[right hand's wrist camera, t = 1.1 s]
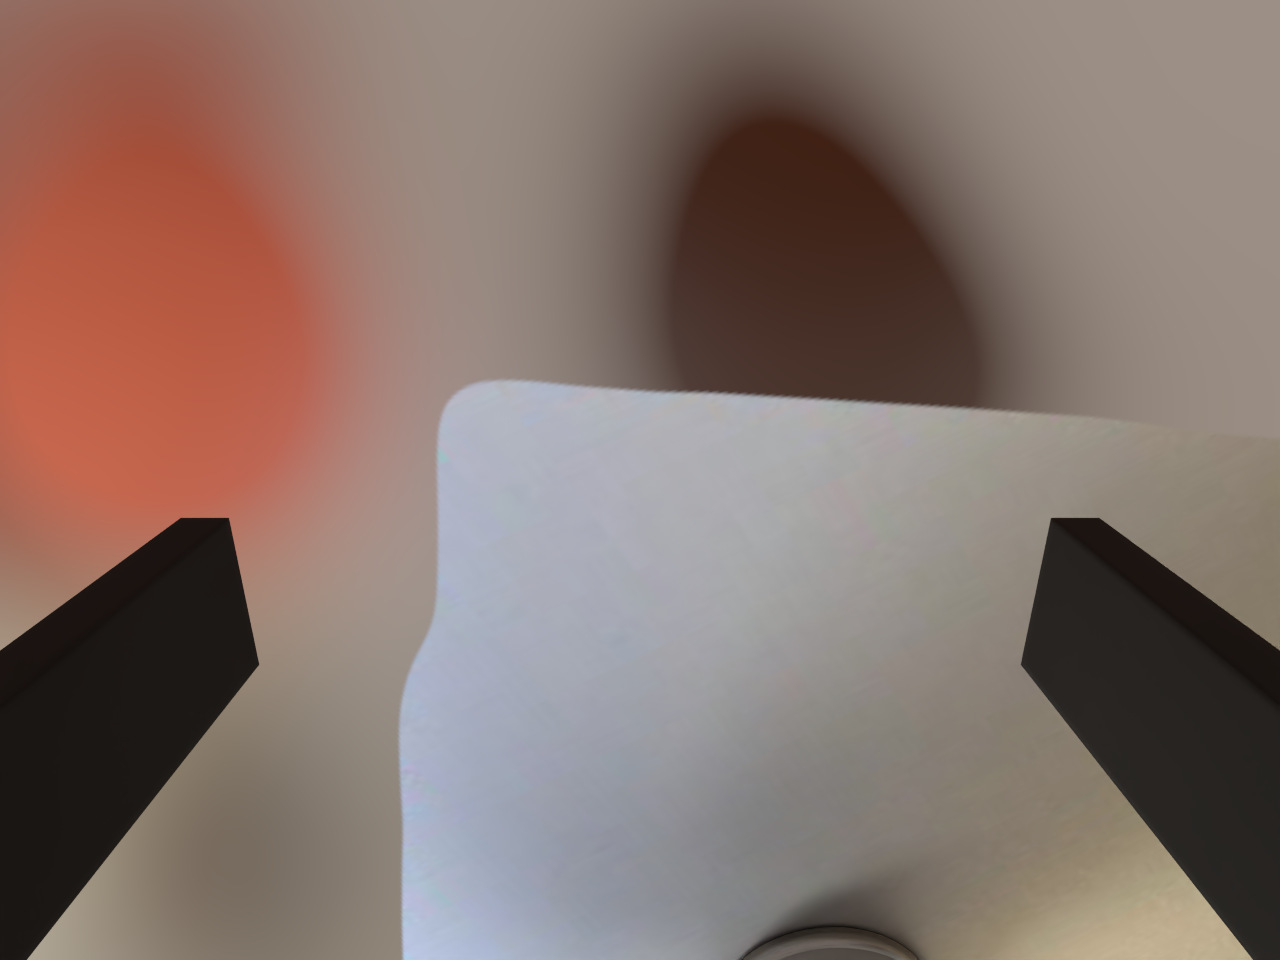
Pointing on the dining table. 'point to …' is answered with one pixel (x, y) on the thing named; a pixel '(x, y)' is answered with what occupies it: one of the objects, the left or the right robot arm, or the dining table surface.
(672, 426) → the dining table surface
